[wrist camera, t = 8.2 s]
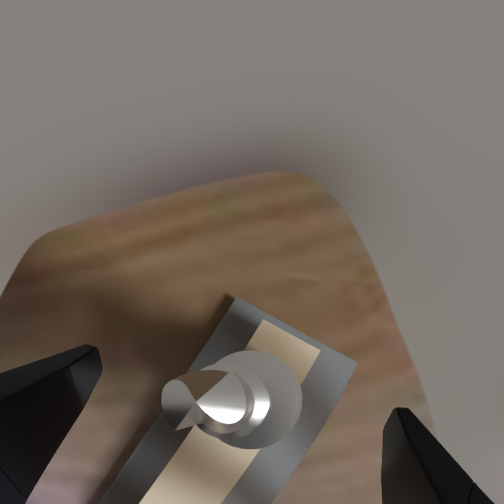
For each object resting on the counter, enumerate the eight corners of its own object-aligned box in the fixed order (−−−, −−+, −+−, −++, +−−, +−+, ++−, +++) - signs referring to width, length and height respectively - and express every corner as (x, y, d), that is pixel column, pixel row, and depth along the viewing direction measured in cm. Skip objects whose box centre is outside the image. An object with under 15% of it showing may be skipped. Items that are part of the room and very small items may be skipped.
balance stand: (192, 587, 12) (179, 611, 9) (90, 520, 15) (64, 532, 11) (354, 364, 20) (371, 356, 16) (238, 301, 22) (231, 281, 19)
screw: (317, 393, 16) (257, 460, 14) (247, 338, 17) (188, 402, 16) (433, 368, 4) (218, 595, 2) (192, 192, 6) (13, 386, 4)
